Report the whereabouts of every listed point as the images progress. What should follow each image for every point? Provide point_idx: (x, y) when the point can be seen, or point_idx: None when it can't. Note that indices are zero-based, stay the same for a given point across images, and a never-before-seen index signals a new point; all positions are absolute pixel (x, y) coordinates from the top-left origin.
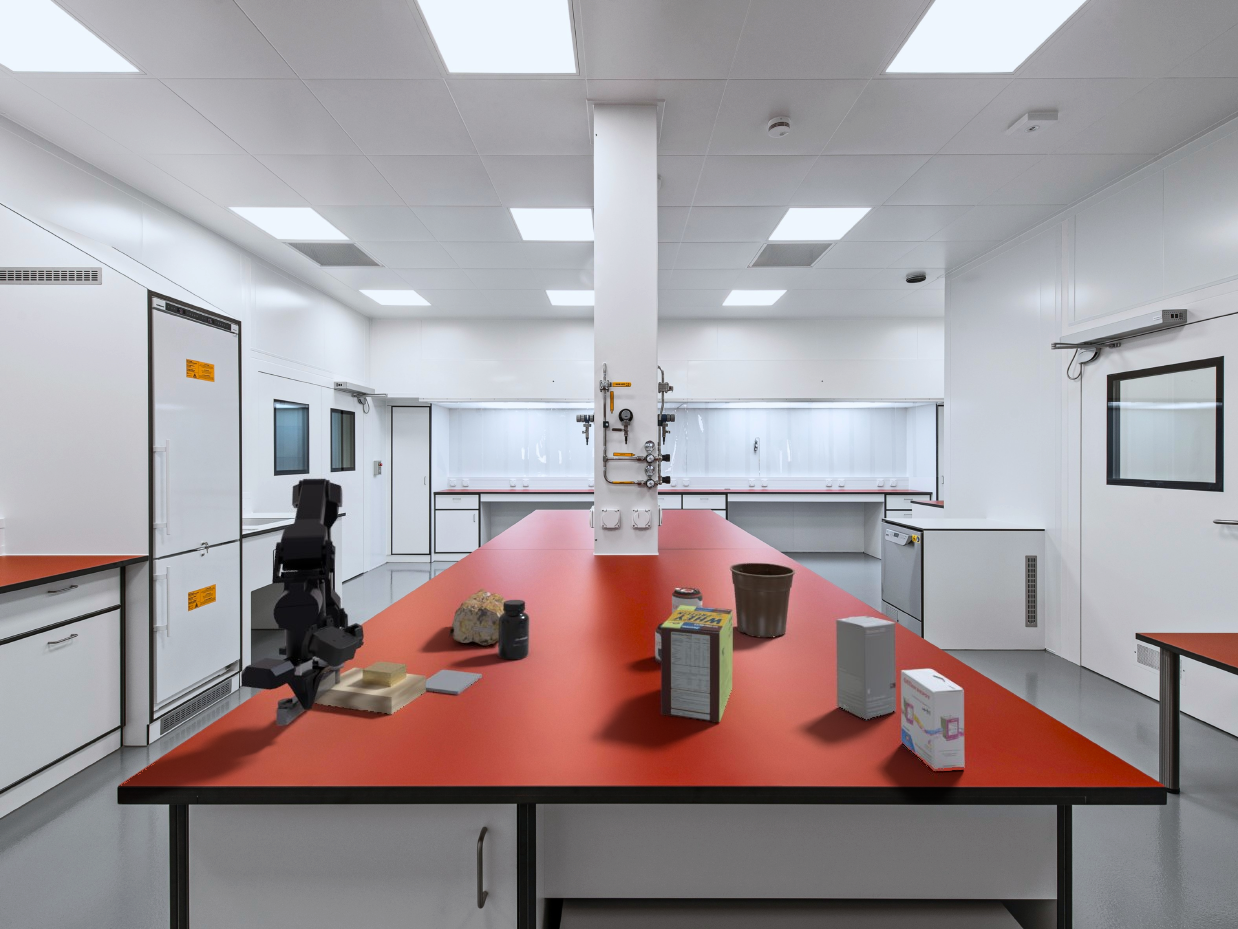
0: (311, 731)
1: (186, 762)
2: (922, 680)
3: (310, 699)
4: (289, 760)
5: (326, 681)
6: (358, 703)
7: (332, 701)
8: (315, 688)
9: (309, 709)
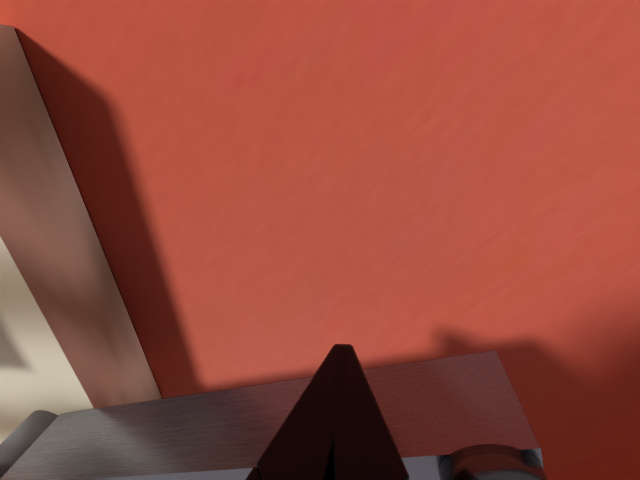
0: (322, 278)
1: (617, 475)
2: None
3: (353, 400)
4: (602, 169)
5: (83, 458)
6: (72, 247)
7: (127, 356)
8: (298, 474)
9: (352, 346)
